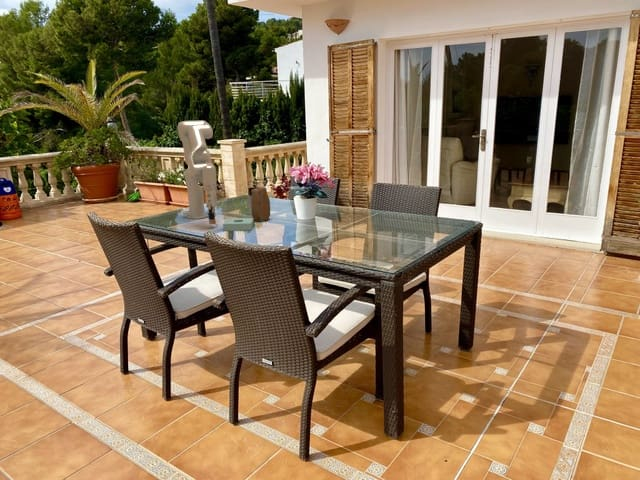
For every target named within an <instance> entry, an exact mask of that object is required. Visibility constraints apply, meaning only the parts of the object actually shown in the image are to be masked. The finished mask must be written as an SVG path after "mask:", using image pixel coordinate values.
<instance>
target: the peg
mask: <svg viewBox="0 0 640 480" xmlns="http://www.w3.org/2000/svg"><path fill="white" fill-rule="evenodd" d="M211 207H212V206H211ZM211 209H212V208H211ZM213 212H214V219H209V218H208V222H209V223H208V224H209V225H216V224H217V223H216V222H217V221H216V217H215V216H216V207H215V208H214V207H213Z"/></svg>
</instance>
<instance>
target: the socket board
mask: <svg viewBox="0 0 640 480" xmlns="http://www.w3.org/2000/svg"><path fill="white" fill-rule="evenodd" d="M254 222H255V221H254V220H253V218H252V217H239V218H237V217H236V218H225V220H224V221H223V223H222V231H223V232H233V231H234V232H235V231H236V232H238V231H239V232H240V231H252V230H253V228H254V224H255V223H254Z"/></svg>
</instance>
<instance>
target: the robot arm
mask: <svg viewBox="0 0 640 480" xmlns="http://www.w3.org/2000/svg"><path fill="white" fill-rule="evenodd" d="M177 133H178V136H179V137H180V141H181V143H182V148H183V156H184V162H185V164H186V165H187V166H188V168H186V169H185V171H184V178H185V184H186V189H187V191H186V192H187V200H188V210H182V214H183V215H187V216H186V217H187V219H190V220H197V219H198V220H199V219H205V218H207V217H208V220H209V219H214V212H213V207H214V208H215V209H216V207H217V205H218V199H217V197H218V196H217V191H216V190H218V188H217V186H218V185H217V172H216V171H217V169H216V166H215V165H214V164H213V162H212V156H211V153H210V151H209V150H208V149H207V148H208V147H207V142H206V139H207V140H208V139H212V138H213V136H214V134H213V133H214V132H213V128H212V125H210V124H209V123H208V122H207V121H206V120H184V121H183V120H182V121H180V122H179V123H178V125H177ZM199 183H202V186H201V184H199ZM204 191H205V192H204ZM204 193H205V198H204ZM204 200H205V201H204ZM205 206H206V208H207V213H206V212H205V210H206V209H205ZM211 206H212V207H211ZM211 208H212V209H211ZM216 216H217V215H215V218H216Z"/></svg>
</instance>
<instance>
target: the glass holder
mask: <svg viewBox="0 0 640 480" xmlns="http://www.w3.org/2000/svg"><path fill="white" fill-rule="evenodd" d="M247 188H248V189H247V190H248V191H247V192H248V193H247V194H248V212H252V205H251V195H252V192H251V191H252V189H255V188H260V186H259V187H257V186H254V187H253V186H252V187H247ZM266 192H267V193H268V191H267V190H266Z"/></svg>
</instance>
